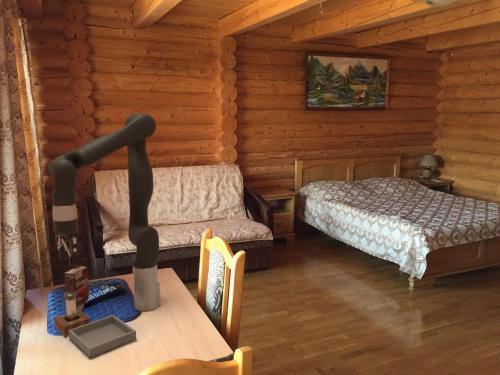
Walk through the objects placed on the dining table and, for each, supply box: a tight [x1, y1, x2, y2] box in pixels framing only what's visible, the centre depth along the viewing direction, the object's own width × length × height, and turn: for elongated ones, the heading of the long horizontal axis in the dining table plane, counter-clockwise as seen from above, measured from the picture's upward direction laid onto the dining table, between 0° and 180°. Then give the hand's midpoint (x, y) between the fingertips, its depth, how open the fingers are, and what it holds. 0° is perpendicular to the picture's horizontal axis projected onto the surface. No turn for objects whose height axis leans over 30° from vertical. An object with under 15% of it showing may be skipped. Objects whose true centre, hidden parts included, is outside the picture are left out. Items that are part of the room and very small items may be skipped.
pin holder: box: [53, 310, 91, 338], centre depth 150 cm, size 9×9×4 cm
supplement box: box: [63, 265, 90, 311], centre depth 164 cm, size 9×5×16 cm, turn 168°
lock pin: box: [63, 291, 77, 322], centre depth 149 cm, size 4×4×13 cm
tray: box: [68, 314, 137, 360], centre depth 142 cm, size 16×16×4 cm
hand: (68, 263), depth 146 cm, fingers open, 8 cm apart
